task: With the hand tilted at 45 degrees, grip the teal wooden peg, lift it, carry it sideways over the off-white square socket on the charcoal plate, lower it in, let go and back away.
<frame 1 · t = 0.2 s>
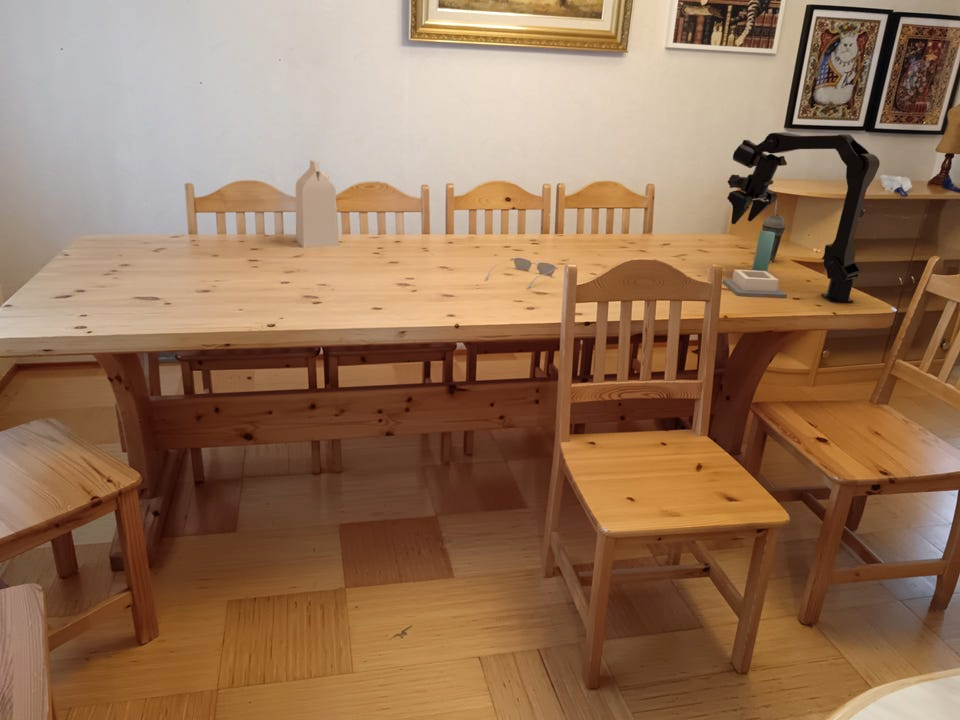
hand: (741, 222, 220), 16 cm above the table, tool tilted 15°, fingers open, 9 cm apart
beverage cup: (766, 261, 241), on the table
socket block: (752, 289, 207), on the table
peg: (759, 273, 225), on the table
eyeglasses: (520, 280, 207), on the table
milk: (317, 242, 234), on the table
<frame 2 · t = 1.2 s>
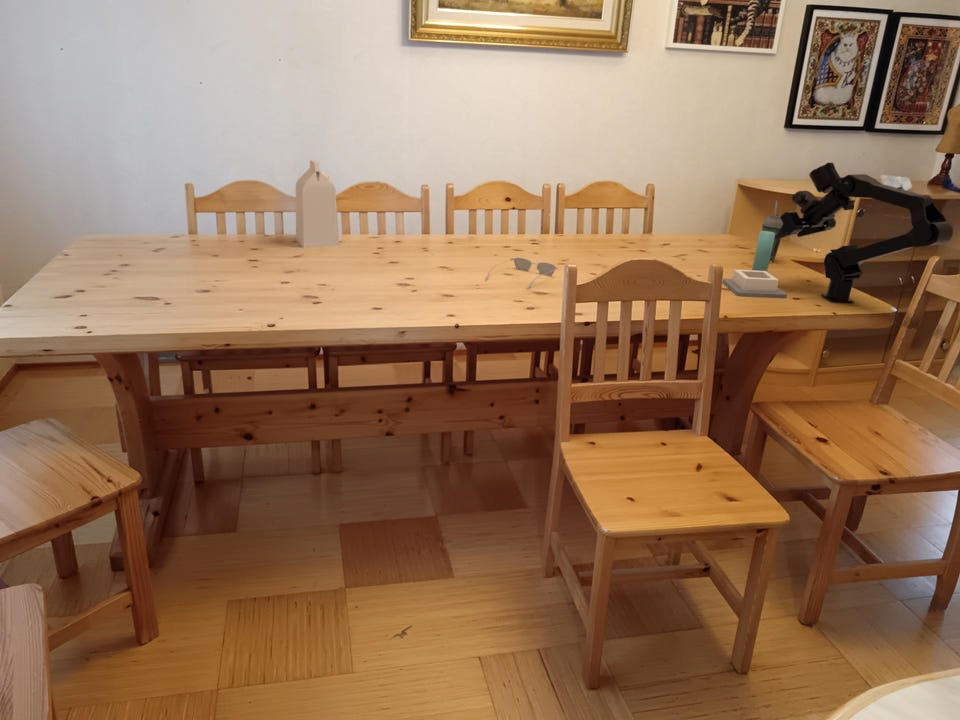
hand: (787, 236, 214), 13 cm above the table, tool tilted 45°, fingers open, 9 cm apart
nothing on the table moved.
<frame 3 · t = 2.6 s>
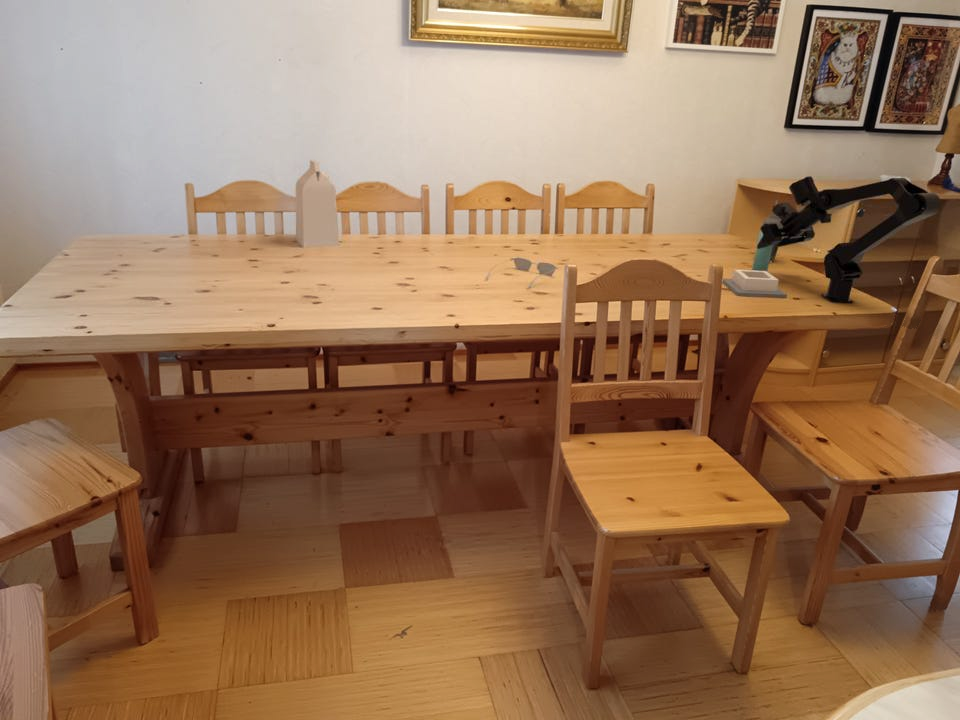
hand: (768, 246, 221), 9 cm above the table, tool tilted 45°, fingers open, 9 cm apart
nothing on the table moved.
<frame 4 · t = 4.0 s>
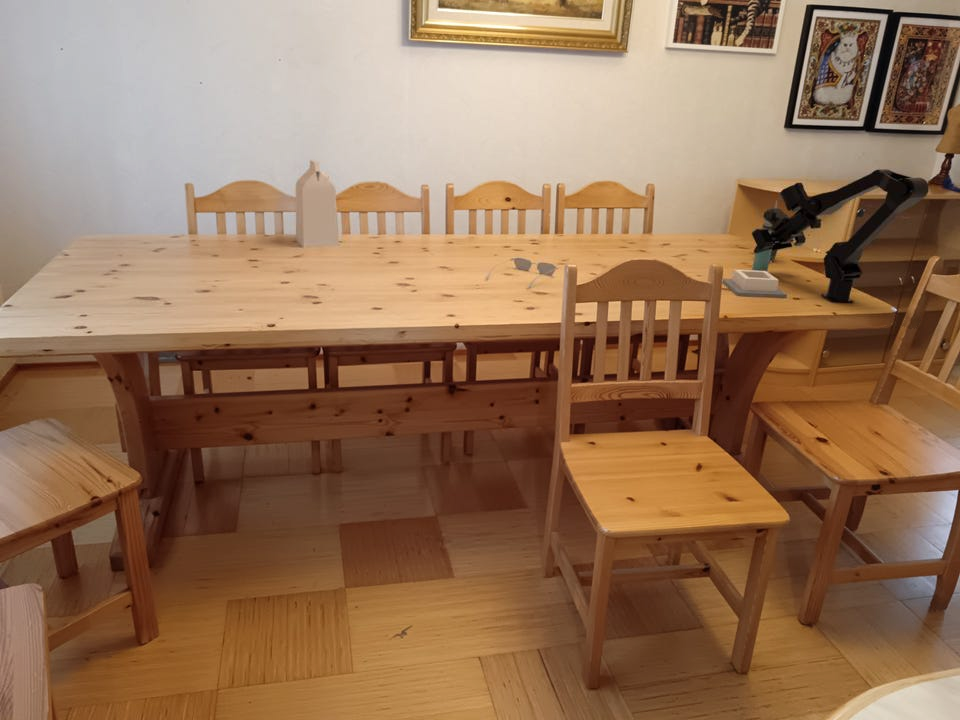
hand: (759, 251, 224), 7 cm above the table, tool tilted 45°, fingers closed on peg, 4 cm apart
peg: (759, 273, 225), on the table, touching gripper
everything else where it was.
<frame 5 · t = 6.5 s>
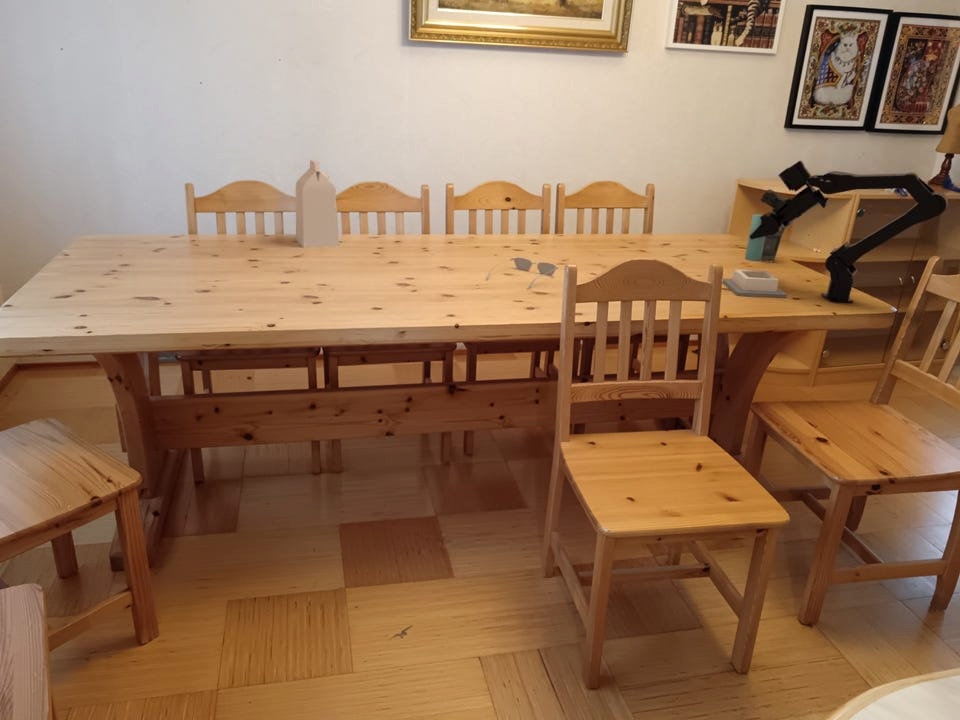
hand: (752, 236, 210), 14 cm above the table, tool tilted 45°, fingers closed on peg, 4 cm apart
peg: (752, 259, 212), point 7 cm above the table, touching gripper
everything else where it was.
when the fingers open (9 cm above the table, at t = 8.8 s): peg drops 1 cm, resting on socket block.
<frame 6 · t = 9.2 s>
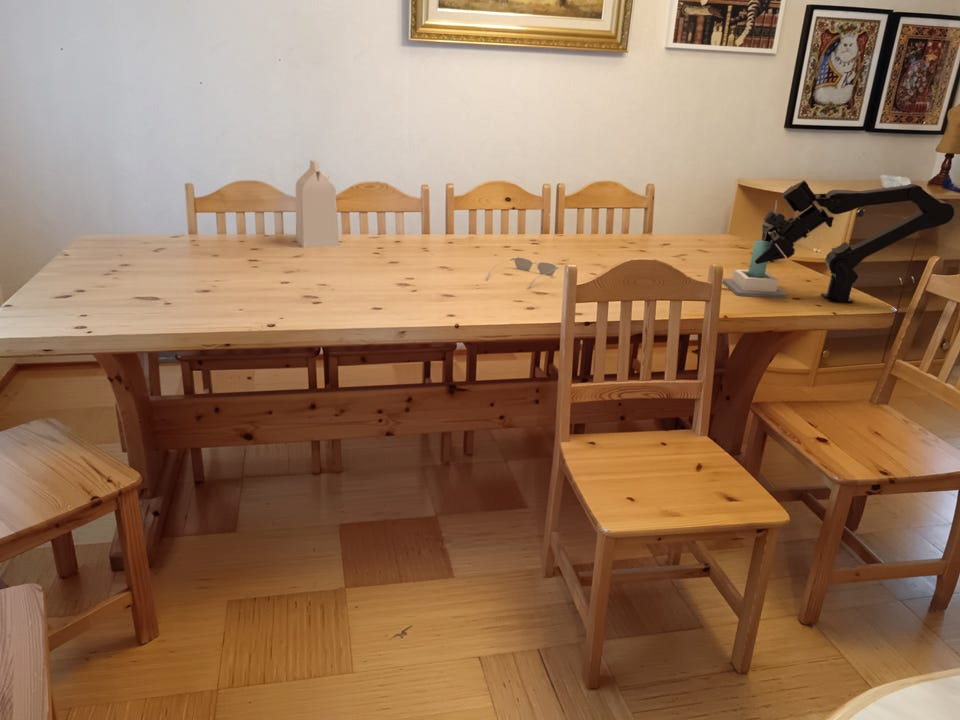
hand: (754, 258, 204), 9 cm above the table, tool tilted 45°, fingers open, 9 cm apart
peg: (753, 286, 207), point 1 cm above the table, touching socket block
everything else where it was.
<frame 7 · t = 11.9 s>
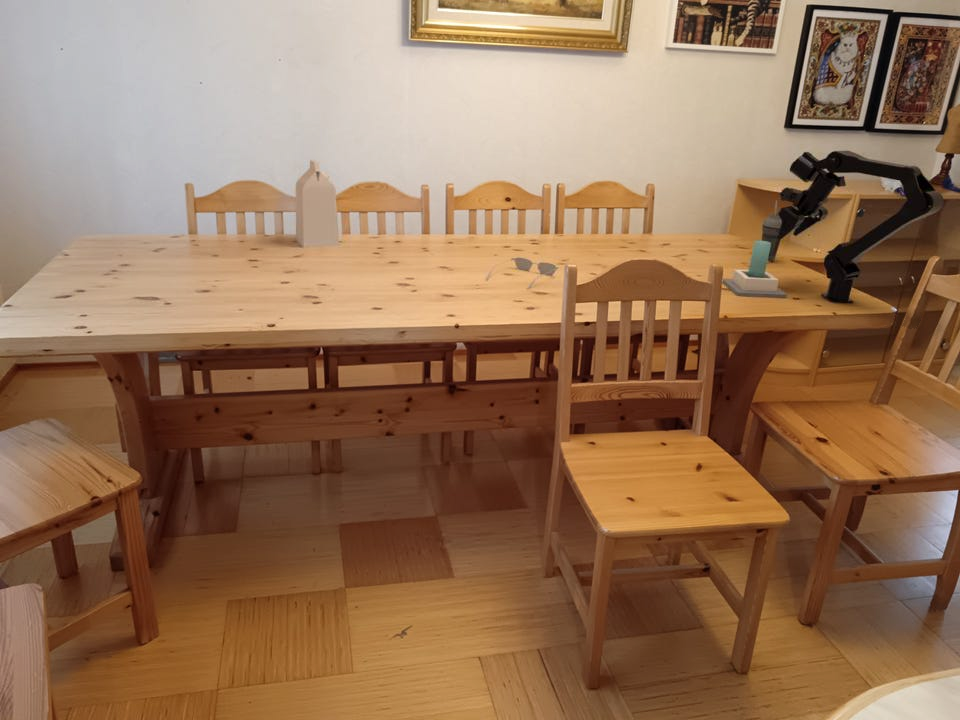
hand: (786, 236, 211), 14 cm above the table, tool tilted 25°, fingers open, 9 cm apart
nothing on the table moved.
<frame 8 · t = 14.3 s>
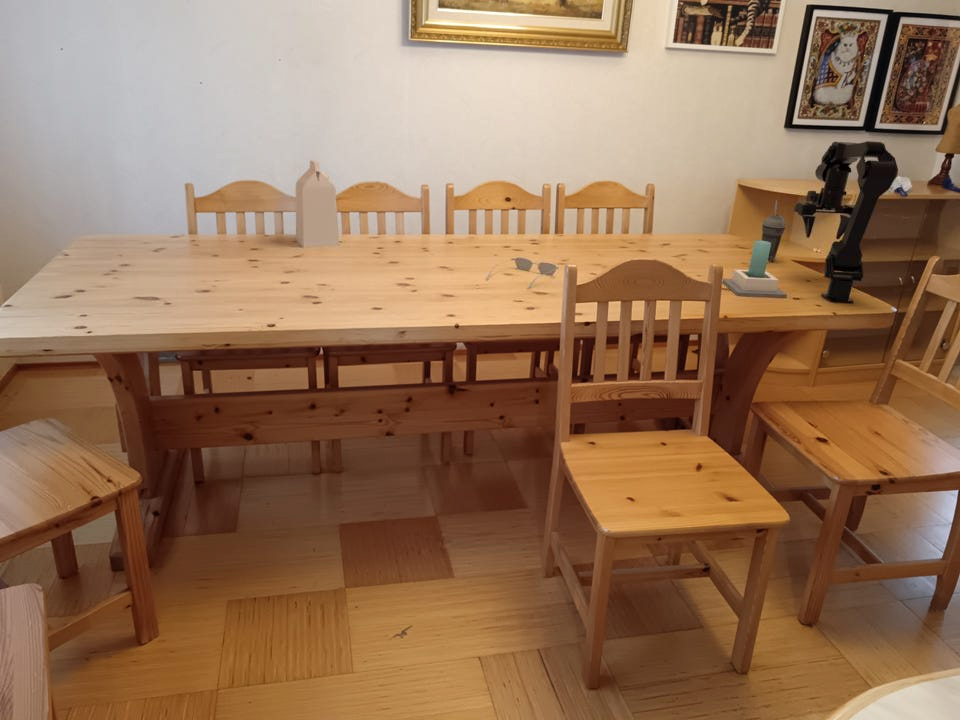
hand: (822, 238, 216), 13 cm above the table, tool pointing down, fingers open, 9 cm apart
nothing on the table moved.
at the end: peg 0.0 cm off-centre on the socket block, point 1.0 cm above the socket block's base; peg tilted 0°; the gripper is holding nothing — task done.
